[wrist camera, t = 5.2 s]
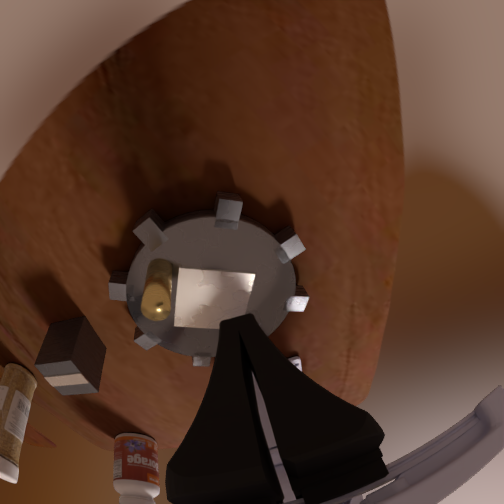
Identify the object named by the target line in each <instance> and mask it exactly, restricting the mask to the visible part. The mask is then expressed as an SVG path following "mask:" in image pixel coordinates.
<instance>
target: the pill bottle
mask: <svg viewBox="0 0 504 504" xmlns="http://www.w3.org/2000/svg"><path fill="white" fill-rule="evenodd" d="M113 484H114V488H115V490H116V491H117V492H118V493H120V494H121V496H120V497H119V498H120V499H119V504H156V503H155V501H154V500H153V498H154V497H156V496H157V495H158V494H159V491H160V487H159V473H158V454H157V443H156V442H155V440H153V439H152V438H150V437H148V436H145V435H142V434H136V433H122V434H119V435H117V436H116V438H115V446H114V480H113Z"/></svg>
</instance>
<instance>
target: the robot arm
mask: <svg viewBox="0 0 504 504" xmlns="http://www.w3.org/2000/svg"><path fill="white" fill-rule="evenodd" d="M384 436H385V434H384V432H383V430H382V428H381V427H380V426H379V424H378V423H377V422H376V421H375V419H374V418H373V417H372V416H371V415H370V414H369V413H368V412H366V411H365V410H362V409H360V408H358V407H356V406H354V405H352V404H350V403H348V402H346V401H344V400H342V399H341V398H339V397H337V396H335V395H334V394H332V393H331V392H329V391H328V390H326V389H325V388H323V387H322V386H320V385H319V384H317V383H316V382H314V381H313V380H312V379H310V378H309V377H308V376H306V375H305V374H304V373H303V372H302V367H301V360H300V357H298V356H295V357H292V358H289V359H287V358H286V357H285V356H284V355H283V354H282V353H281V352H280V351H279V349H278V348H277V347H276V346H275V345H274V344H273V343H272V341H271V340H270V339H269V338H268V337H267V335H266V334H265V333H264V331H263V330H262V329H261V327H260V326H259V324H258V322H257V321H256V319H255V317H254V314H252V313H248V314H245V315H241V316H237V317H234V318H230V319H226V320H222V321H221V322H220V323H219V339H218V346H217V351H216V356H215V361H214V366H213V369H212V373H211V377H210V380H209V384H208V387H207V390H206V393H205V395H204V398H203V401H202V403H201V405H200V408H199V410H198V412H197V415H196V417H195V419H194V421H193V423H192V425H191V427H190V429H189V430H188V432H187V434H186V436H185V438H184V440H183V441H182V443H181V445H180V446H179V448H178V449H177V451H176V452H175V454H174V455H173V456H172V458H171V460H170V461H169V462H168V464H167V470H166V480H165V481H166V482H165V483H166V493H167V500H168V501H169V502H171V503H172V504H437V503H438V502H440V501H441V500H443V499H444V498H446V497H447V496H448V495H449V494H451V493H453V492H454V491H455V490H456V489H458V488H459V487H460V486H461V485H463V484H464V483H465V482H467V481H468V480H469V479H470V478H472V477H473V476H474V475H475V474H476V473H477V472H479V471H480V470H481V469H482V468H483V467H484V466H485V465H487V464H488V463H489V462H490V461H491V460H492V459H493V458H494V457H495V456H496V455H497V454H498V453H499V452H500V451H501V450H502V449H503V448H504V389H503V388H502V386H501V385H499V386H498V387H497V388H496V389H494V390H493V391H492V392H491V393H490V394H488V395H487V396H486V397H485V398H484V399H483V400H482V401H481V402H480V403H479V404H478V405H477V406H476V407H475V409H474V411H472V412H471V413H470V414H468V415H467V416H466V417H464V418H463V419H462V420H460V421H459V422H458V423H456V424H455V425H453V426H452V427H450V428H449V429H448V430H446V431H445V432H443V433H442V434H440V435H439V436H437V437H435V438H434V439H432V440H431V441H429V442H428V443H426V444H424V445H423V446H421V447H419V448H417V449H416V450H414V451H412V452H410V453H409V454H407V455H405V456H403V457H401V458H399V459H398V460H396V461H394V462H392V463H390V464H388V465H386V466H385V464H384V462H383V460H382V458H381V457H382V456H383V455H382V452H381V450H380V449H379V446H380V444H381V443H382V441H383V439H384ZM395 478H396V479H395ZM393 479H395V480H394V481H393V482H391V483H390V484H388V485H386V486H384V487H382V488H380V489H379V490H377V491H375V492H373V493H371V494H369V495H367V496H366V499H364V500H363V497H362V494H363V493H366V492H368V491H370V490H373V489H375V488H377V487H379V486H381V485H383V484H385V483H387V482H389V481H391V480H393Z"/></svg>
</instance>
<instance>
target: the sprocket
mask: <svg viewBox="0 0 504 504" xmlns="http://www.w3.org/2000/svg"><path fill="white" fill-rule="evenodd" d="M242 204H243V201H242V199H241V197H240V195H239V194H233V193H226V192H219V191H217V194H216V199H215V205H214V210H201V211H195V212H190V213H186V214H183V215H180V216H177V217H175V218H173V219H171V220H169V221H167V222H165V223H164V222H163V220H162V219H161V218H160V217H159V216H158V215H157V213H156V212H155V211H154V210H153V209H151V210H150V211H149V212H147V213H146V214H145V215H144V216H142V217H141V218H140V219H139V220H137V221H136V223H135V226H134V228H133V232H134V234H135V235H136V236H137V237H138V238H139V239H140V240H141V241H142V243H141V245H140V246H139V248H138V250H137V251H136V253H135V255H134V258H133V260H132V263H131V266H130V270H129V272H122V271H113V272H112V274H111V277H110V280H109V296H110V299H112V300H121V301H127V304H128V308H129V311H130V313H131V316H132V318H133V320H134V321H135V323H136V324H137V327H136V328H135V335H134V341H135V342H136V343H137V344H139V345H140V346H141V347H143V348H144V349H145V350H148V349H150V348H151V347H153V346H155V345H156V344H158V345H160V346H162V347H164V348H166V349H168V350H171V351H173V352H176V353H180V354H183V355H188V356H192V360H193V366H210V360H211V357H215V356H216V351H217V346H218V339H219V323H220V322H221V321H222V320H226V319H230V318H234V317H237V316H241V315H245V314H248V313H252V314H254V317H255V319H256V321H257V322H258V324H259V326H260V327H261V329H262V330H263V331H264V333H265V334H266V335H267V337H268V336H269V335H270V334H271V333H272V332H273V331H274V330H275V329H276V328H277V327H278V326H279V325H280V324H281V323H282V321H283V320H284V319H285V317H286V315H287V314H288V312H289V311H304V309H305V306H306V304H307V301H308V299H309V296H308V294H307V292H306V291H305V289H304V287H303V286H298V285H296V278H295V272H294V268H293V265H292V263H291V260H290V259H292V258H294V257H295V256H297V255H298V254H300V253H301V252H303V251H304V250H306V249H305V247H304V246H303V244H302V243H301V241H300V239H299V238H298V236H297V234H296V233H295V232H294V231H293V229H292V228H291V227H290V225H289V226H287V227H286V228H284V229H283V230H281V231H280V232H278V233H277V234H275V235H274V234H273V233H272V232H271V231H269V230H268V229H267V228H266V227H265V226H263V225H262V224H260V223H259V222H257V221H256V220H254V219H252V218H249V217H247V216H245V215H242V214H241V209H242Z"/></svg>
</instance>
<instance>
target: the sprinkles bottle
mask: <svg viewBox="0 0 504 504" xmlns="http://www.w3.org/2000/svg"><path fill="white" fill-rule="evenodd" d="M36 386H37V381H36V379H35V378H34V376H33V375H32V374H31V373H30V372H29V371H28V370H27V369H25V368H23V367H22V366H20V365H17V364H14V363H8V364H7V365H6V366H5V368H4V373H3V376H2V379H1V381H0V478H2V479H4V480H6V481H9V482H12V483H17V480H18V473H19V469H18V466H19V465H18V461H19V455H20V450H21V445H22V442H23V437H24V432H25V428H26V423H27V418H28V414H29V410H30V406H31V400H32V396H33V393H34V390H35V388H36Z"/></svg>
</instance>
